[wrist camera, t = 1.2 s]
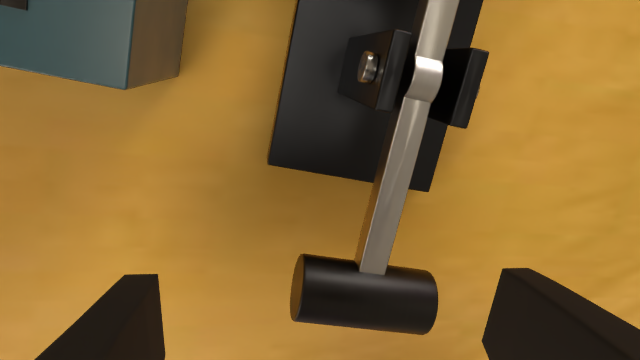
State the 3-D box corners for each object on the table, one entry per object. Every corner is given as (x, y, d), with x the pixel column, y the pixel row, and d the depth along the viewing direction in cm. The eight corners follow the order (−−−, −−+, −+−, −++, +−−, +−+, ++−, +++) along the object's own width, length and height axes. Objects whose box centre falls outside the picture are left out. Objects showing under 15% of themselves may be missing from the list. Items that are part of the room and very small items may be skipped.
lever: (406, 312, 18) (427, 349, 16) (287, 298, 17) (292, 335, 15) (528, -106, 14) (579, -137, 12) (384, -153, 13) (411, -196, 11)
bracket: (420, 186, 22) (499, 249, 15) (266, 159, 21) (271, 214, 14) (477, -20, 20) (605, -63, 13) (308, -67, 18) (341, -147, 11)
